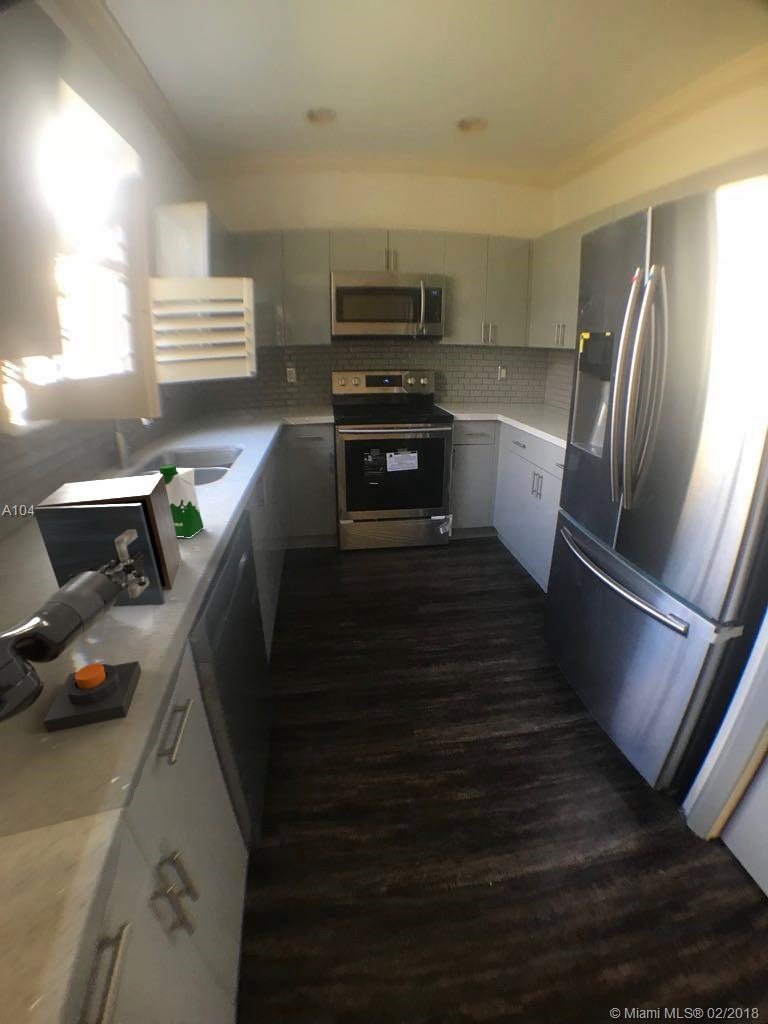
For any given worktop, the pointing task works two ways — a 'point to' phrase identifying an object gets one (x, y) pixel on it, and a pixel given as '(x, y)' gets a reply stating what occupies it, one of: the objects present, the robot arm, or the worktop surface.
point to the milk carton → (182, 499)
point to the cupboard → (132, 492)
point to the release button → (90, 676)
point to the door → (100, 544)
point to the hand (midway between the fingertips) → (134, 555)
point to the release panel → (94, 699)
